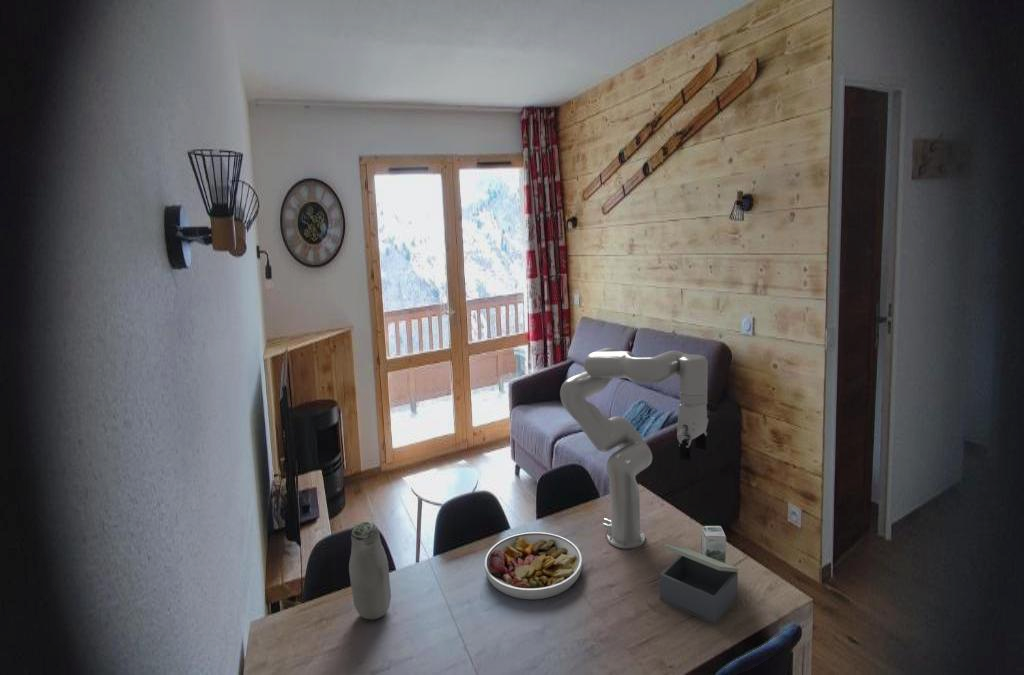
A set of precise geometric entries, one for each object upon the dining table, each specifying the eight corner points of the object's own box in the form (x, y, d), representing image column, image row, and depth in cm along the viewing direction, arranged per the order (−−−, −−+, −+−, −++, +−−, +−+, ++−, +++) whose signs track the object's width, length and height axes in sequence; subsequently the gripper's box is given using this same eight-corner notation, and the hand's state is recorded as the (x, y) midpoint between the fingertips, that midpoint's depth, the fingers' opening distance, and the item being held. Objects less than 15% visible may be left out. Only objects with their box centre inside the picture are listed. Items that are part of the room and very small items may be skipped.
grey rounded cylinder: (349, 623, 153) (336, 531, 148) (371, 599, 162) (360, 512, 157) (378, 630, 149) (367, 537, 144) (399, 606, 159) (389, 517, 153)
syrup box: (720, 568, 167) (720, 524, 164) (725, 580, 161) (726, 535, 158) (700, 568, 167) (700, 524, 165) (705, 580, 162) (705, 535, 159)
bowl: (559, 537, 189) (558, 516, 188) (599, 589, 161) (599, 565, 160) (474, 558, 180) (473, 536, 179) (502, 617, 152) (500, 591, 151)
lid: (662, 548, 153) (663, 544, 153) (683, 551, 163) (684, 547, 163) (719, 570, 142) (719, 566, 142) (737, 572, 152) (738, 568, 152)
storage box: (659, 599, 155) (659, 574, 153) (683, 575, 164) (683, 551, 163) (715, 625, 144) (715, 598, 142) (737, 598, 153) (737, 572, 152)
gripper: (695, 388, 167) (694, 441, 170) (666, 403, 155) (666, 460, 158) (719, 392, 162) (718, 447, 165) (691, 408, 150) (691, 467, 153)
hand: (693, 453), depth 161 cm, fingers open, 9 cm apart
